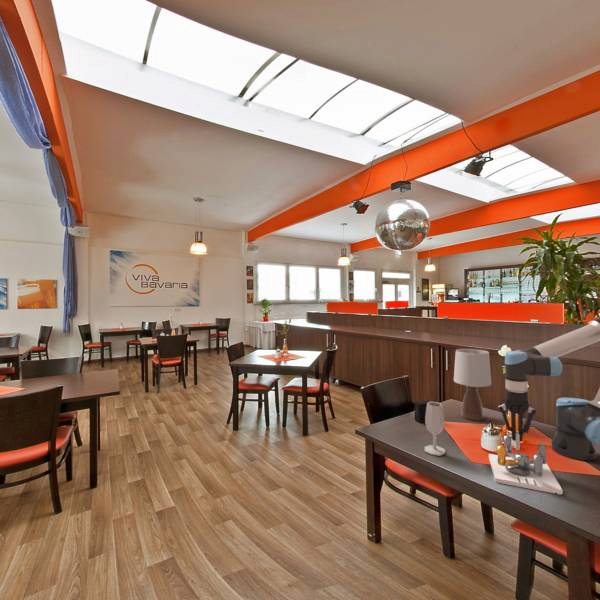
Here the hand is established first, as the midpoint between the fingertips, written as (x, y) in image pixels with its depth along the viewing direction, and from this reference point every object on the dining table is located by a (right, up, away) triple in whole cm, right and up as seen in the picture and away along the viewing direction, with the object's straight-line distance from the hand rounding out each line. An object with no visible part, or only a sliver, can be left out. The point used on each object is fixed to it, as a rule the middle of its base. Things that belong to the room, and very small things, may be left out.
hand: (517, 448), depth 134 cm
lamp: (+9, -6, +51) cm, 52 cm away
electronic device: (-19, -6, +47) cm, 51 cm away
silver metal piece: (-3, -5, -7) cm, 9 cm away
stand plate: (-3, -7, -7) cm, 10 cm away
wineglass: (-28, -7, +12) cm, 31 cm away
